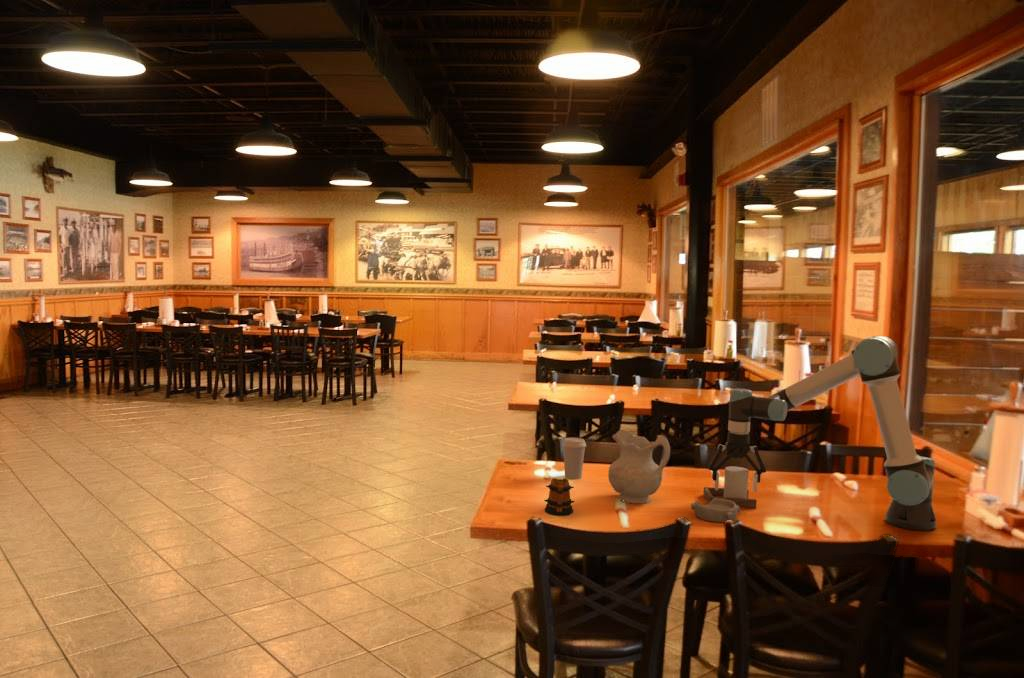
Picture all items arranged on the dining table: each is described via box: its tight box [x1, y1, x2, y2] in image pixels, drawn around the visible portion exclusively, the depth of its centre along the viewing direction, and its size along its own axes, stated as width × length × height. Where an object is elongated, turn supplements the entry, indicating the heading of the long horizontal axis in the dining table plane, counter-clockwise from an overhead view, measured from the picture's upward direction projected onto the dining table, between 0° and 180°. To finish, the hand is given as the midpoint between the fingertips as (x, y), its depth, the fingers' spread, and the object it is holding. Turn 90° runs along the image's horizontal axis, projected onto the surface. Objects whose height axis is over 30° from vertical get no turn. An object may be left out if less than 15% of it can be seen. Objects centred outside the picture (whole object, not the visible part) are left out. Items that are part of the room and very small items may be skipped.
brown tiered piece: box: [544, 477, 575, 517], centre depth 261 cm, size 13×10×12 cm
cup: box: [723, 465, 750, 499], centre depth 280 cm, size 8×8×12 cm
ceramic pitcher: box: [608, 429, 671, 505], centre depth 279 cm, size 22×20×25 cm
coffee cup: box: [561, 437, 587, 480], centre depth 307 cm, size 10×10×15 cm
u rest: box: [702, 486, 758, 509], centre depth 280 cm, size 13×16×3 cm
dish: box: [690, 498, 741, 523], centre depth 262 cm, size 14×14×5 cm
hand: (735, 490), depth 280 cm, fingers open, 13 cm apart
